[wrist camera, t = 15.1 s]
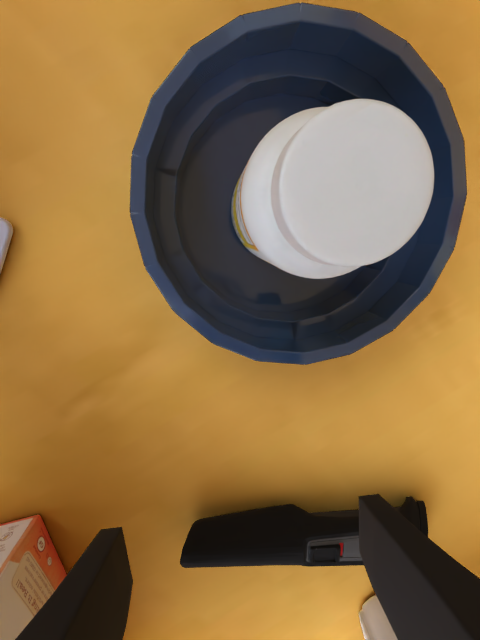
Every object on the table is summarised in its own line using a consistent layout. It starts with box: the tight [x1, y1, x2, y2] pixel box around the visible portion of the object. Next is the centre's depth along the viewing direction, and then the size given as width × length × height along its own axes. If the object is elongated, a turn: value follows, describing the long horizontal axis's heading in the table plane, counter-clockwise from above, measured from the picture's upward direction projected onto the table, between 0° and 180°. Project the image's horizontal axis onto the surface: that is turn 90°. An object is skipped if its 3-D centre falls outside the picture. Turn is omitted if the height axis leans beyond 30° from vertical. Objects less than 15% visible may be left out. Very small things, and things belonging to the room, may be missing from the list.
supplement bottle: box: [231, 99, 434, 279], centre depth 13 cm, size 5×5×10 cm
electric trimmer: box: [180, 496, 428, 568], centre depth 22 cm, size 4×16×3 cm, turn 89°
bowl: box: [130, 3, 467, 365], centre depth 16 cm, size 14×14×4 cm
